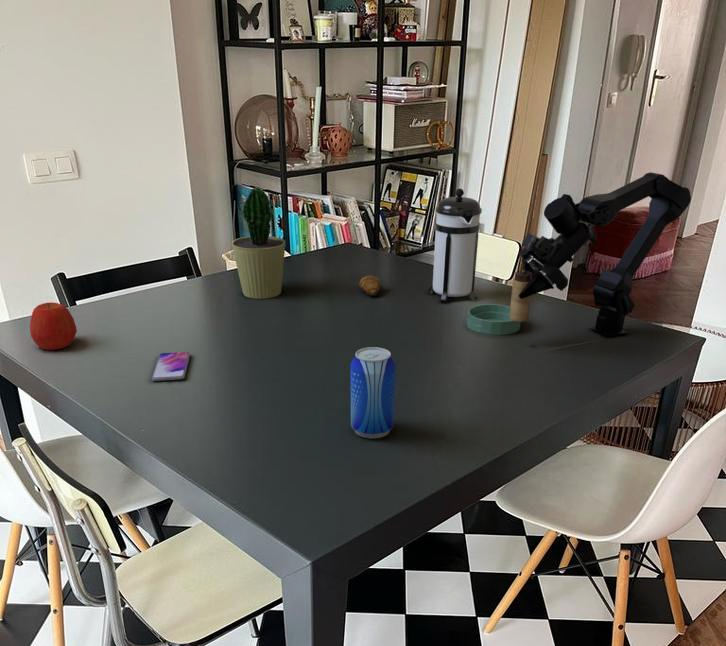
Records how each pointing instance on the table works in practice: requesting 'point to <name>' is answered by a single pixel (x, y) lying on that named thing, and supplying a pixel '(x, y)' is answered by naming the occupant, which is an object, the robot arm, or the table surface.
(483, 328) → the bowl
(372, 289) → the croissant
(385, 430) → the beer can
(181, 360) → the smartphone
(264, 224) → the potted cactus
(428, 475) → the table surface
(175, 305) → the table surface
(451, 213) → the coffee press
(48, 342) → the apple
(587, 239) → the robot arm
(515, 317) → the pepper mill
